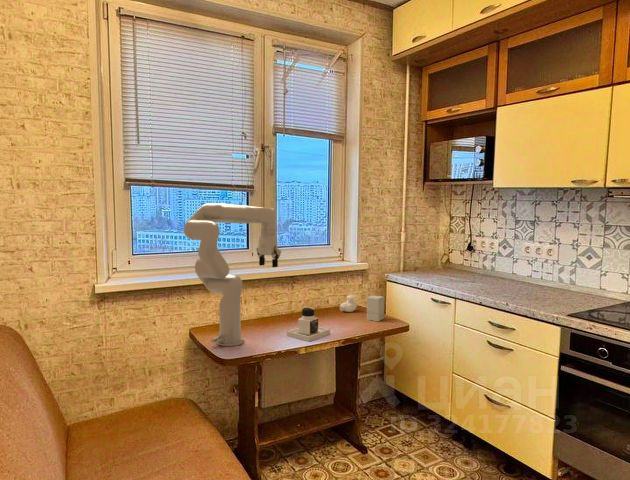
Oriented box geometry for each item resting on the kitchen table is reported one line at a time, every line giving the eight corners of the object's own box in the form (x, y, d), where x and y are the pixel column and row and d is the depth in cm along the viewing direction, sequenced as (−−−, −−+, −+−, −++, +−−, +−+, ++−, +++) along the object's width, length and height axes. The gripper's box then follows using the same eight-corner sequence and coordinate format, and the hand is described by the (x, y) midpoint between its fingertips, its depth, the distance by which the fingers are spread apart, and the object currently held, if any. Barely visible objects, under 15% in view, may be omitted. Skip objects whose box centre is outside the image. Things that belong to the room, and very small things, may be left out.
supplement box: (384, 318, 241) (384, 296, 240) (378, 321, 234) (379, 298, 233) (372, 317, 245) (372, 294, 244) (366, 319, 238) (366, 297, 237)
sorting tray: (308, 341, 201) (308, 337, 201) (286, 335, 210) (286, 331, 209) (330, 333, 213) (330, 329, 213) (308, 328, 222) (308, 324, 222)
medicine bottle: (310, 335, 206) (310, 310, 205) (297, 333, 210) (297, 308, 209) (318, 332, 212) (318, 307, 211) (306, 329, 216) (306, 305, 215)
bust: (340, 316, 254) (347, 303, 247) (335, 306, 259) (341, 294, 252) (357, 313, 260) (364, 301, 253) (351, 304, 265) (358, 291, 258)
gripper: (251, 232, 222) (251, 265, 224) (274, 233, 211) (274, 268, 212) (262, 231, 228) (262, 263, 229) (285, 233, 216) (285, 267, 218)
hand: (268, 266), depth 221 cm, fingers open, 9 cm apart
